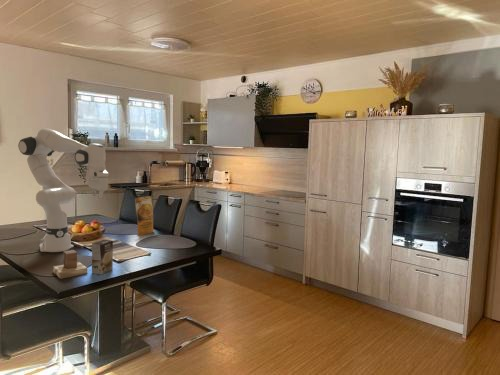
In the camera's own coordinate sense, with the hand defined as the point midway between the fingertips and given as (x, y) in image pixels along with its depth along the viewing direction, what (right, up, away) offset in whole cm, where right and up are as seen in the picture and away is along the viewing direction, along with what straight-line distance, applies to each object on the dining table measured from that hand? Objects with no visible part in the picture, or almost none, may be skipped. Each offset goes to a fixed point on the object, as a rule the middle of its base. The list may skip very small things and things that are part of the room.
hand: (97, 196), depth 211 cm
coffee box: (+8, -40, -14) cm, 43 cm away
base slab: (-7, -39, -18) cm, 44 cm away
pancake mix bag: (+7, -30, +69) cm, 76 cm away
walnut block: (-7, -36, -18) cm, 41 cm away
